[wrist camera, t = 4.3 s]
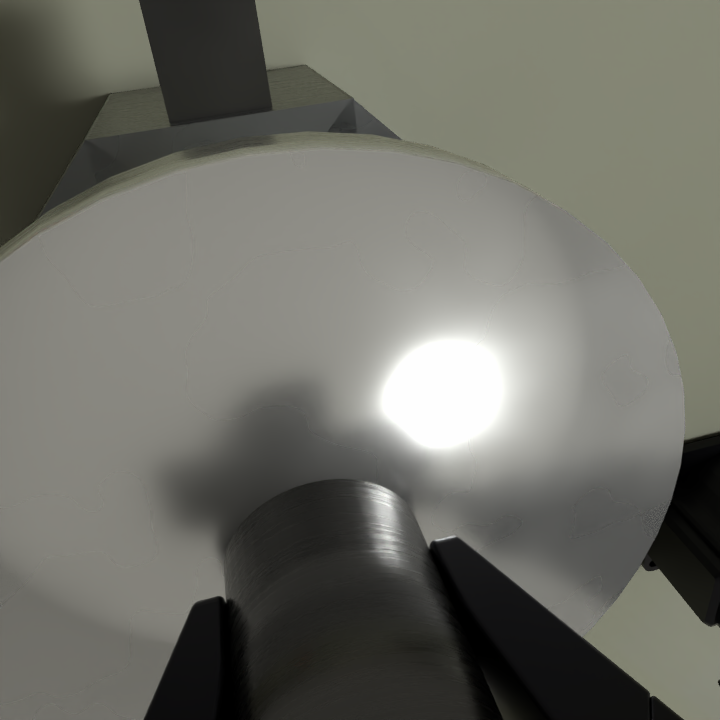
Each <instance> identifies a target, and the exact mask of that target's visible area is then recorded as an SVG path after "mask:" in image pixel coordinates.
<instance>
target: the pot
mask: <svg viewBox="0 0 720 720" xmlns="http://www.w3.org/2000/svg"><path fill="white" fill-rule="evenodd" d="M139 2H140V6H141V10H142V14H143V18H144V22H145V26H146V30H147V34H148V38H149V42H150V46H151V50H152V54H153V58H154V62H155V66H156V70H157V74H158V78H159V82H160V86H161V87H154V88H147V89H140V90H133V91H127V92H120V93H113V94H112V93H111V94H109V96H108V98H107V100H106V101H105V103H104V105H103V107H102V109H101V110H100V112H99V114H98V116H97V118H96V119H95V121H94V123H93V124H92V126H91V128H90V129H89V131H88V133H87V134H86V136H85V138H84V139H83V141H82V143H81V144H80V146H79V148H78V149H77V151H76V153H75V155H74V156H73V158H72V160H71V161H70V163H69V165H68V166H67V168H66V170H65V171H64V173H63V175H62V176H61V178H60V180H59V181H58V183H57V185H56V186H55V188H54V190H53V191H52V193H51V195H50V196H49V198H48V200H47V202H46V203H45V205H44V207H43V208H42V210H41V212H40V213H39V215H38V217H37V218H36V220H37V219H39V218H40V217H41V216H43V215H44V214H45V213H47V212H48V211H49V210H51V209H53V208H54V207H56V206H58V205H60V204H62V203H64V202H65V201H67V200H69V199H71V198H73V197H74V196H76V195H78V194H80V193H82V192H84V191H85V190H87V189H89V188H91V187H93V186H95V185H96V184H98V183H100V182H102V181H104V180H106V179H107V178H109V177H112V176H114V175H117V174H119V173H122V172H125V171H127V170H130V169H133V168H135V167H138V166H141V165H143V164H146V163H149V162H151V161H154V160H156V159H159V158H162V157H164V156H167V155H170V154H172V153H175V152H180V151H184V150H188V149H193V148H197V147H202V146H206V145H210V144H215V143H219V142H223V141H228V140H232V139H236V138H241V137H251V136H262V135H273V134H284V133H295V132H307V131H310V132H331V133H352V134H372V135H377V136H382V137H388V138H393V139H398V140H402V139H400V138H399V137H398V136H397V135H396V134H394V133H393V132H392V131H391V130H390V129H388V128H387V127H386V126H385V125H384V124H382V123H381V122H380V121H379V120H378V119H376V118H375V117H374V116H373V115H372V114H370V113H369V112H368V111H367V110H366V109H364V108H363V107H362V106H361V105H360V104H358V103H357V102H356V101H355V100H354V98H353V97H351V96H350V95H348V94H347V93H345V92H344V91H343V90H341V89H340V88H338V87H337V86H335V85H334V84H333V83H331V82H330V81H328V80H327V79H326V78H324V77H323V76H321V75H320V74H318V73H317V72H316V71H314V70H313V69H311V68H310V67H309V66H307V65H303V66H297V67H290V68H283V69H276V70H269V71H266V65H265V59H264V53H263V47H262V41H261V35H260V29H259V23H258V17H257V11H256V5H255V0H139ZM36 220H35V221H36Z"/></svg>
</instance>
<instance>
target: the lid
mask: <svg viewBox="0 0 720 720" xmlns="http://www.w3.org/2000/svg"><path fill="white" fill-rule="evenodd" d="M684 435H685V403H684V388H683V383H682V378H681V373H680V368H679V363H678V358H677V353H676V350H675V347H674V345H673V342H672V340H671V337H670V335H669V332H668V330H667V327H666V324H665V322H664V319H663V317H662V314H661V313H660V311H659V309H658V308H657V306H656V305H655V303H654V301H653V300H652V298H651V297H650V295H649V293H648V292H647V290H646V288H645V287H644V285H643V284H642V282H641V280H640V279H639V277H638V276H637V275H636V274H635V273H634V272H633V271H632V270H631V268H630V267H629V266H628V265H627V264H626V263H625V262H624V261H623V260H622V259H621V257H620V256H619V255H618V254H617V253H616V252H615V251H614V250H613V249H612V247H611V246H610V245H609V244H608V243H607V242H606V241H604V240H603V239H602V238H600V237H599V236H598V235H597V234H595V233H594V232H593V231H591V230H590V229H589V228H588V227H586V226H585V225H584V224H582V223H581V222H580V221H578V220H577V219H576V218H575V217H573V216H572V215H571V214H569V213H568V212H567V211H565V210H564V209H562V208H560V207H559V206H557V205H555V204H554V203H552V202H550V201H549V200H547V199H546V198H544V197H542V196H541V195H539V194H537V193H536V192H534V191H532V190H531V189H529V188H527V187H525V186H523V185H522V184H520V183H518V182H516V181H514V180H512V179H510V178H509V177H507V176H505V175H503V174H501V173H499V172H497V171H495V170H494V169H492V168H490V167H488V166H486V165H484V164H482V163H479V162H476V161H473V160H470V159H467V158H464V157H462V156H459V155H456V154H453V153H450V152H447V151H444V150H442V149H439V148H436V147H433V146H429V145H424V144H419V143H414V142H409V141H403V140H398V139H393V138H388V137H382V136H377V135H372V134H352V133H331V132H310V131H307V132H295V133H284V134H273V135H262V136H251V137H241V138H236V139H232V140H228V141H223V142H219V143H215V144H210V145H206V146H202V147H197V148H193V149H188V150H184V151H180V152H175V153H172V154H170V155H167V156H164V157H162V158H159V159H156V160H154V161H151V162H149V163H146V164H143V165H141V166H138V167H135V168H133V169H130V170H127V171H125V172H122V173H119V174H117V175H114V176H112V177H109V178H107V179H106V180H104V181H102V182H100V183H98V184H96V185H95V186H93V187H91V188H89V189H87V190H85V191H84V192H82V193H80V194H78V195H76V196H74V197H73V198H71V199H69V200H67V201H65V202H64V203H62V204H60V205H58V206H56V207H54V208H53V209H51V210H49V211H48V212H47V213H45V214H44V215H43V216H41V217H40V218H39V219H37V220H36V221H35V222H33V223H32V224H31V225H29V226H28V227H27V228H25V229H24V230H23V231H21V232H20V233H19V234H17V235H16V236H15V237H13V238H12V239H11V240H10V241H8V242H7V243H6V244H4V245H3V246H2V247H0V720H143V719H144V717H145V715H146V712H147V710H148V708H149V705H150V703H151V701H152V698H153V696H154V694H155V691H156V689H157V687H158V684H159V682H160V680H161V677H162V675H163V673H164V670H165V668H166V666H167V663H168V661H169V659H170V656H171V654H172V652H173V649H174V647H175V645H176V642H177V640H178V638H179V635H180V633H181V631H182V628H183V626H184V624H185V621H186V619H187V617H188V614H189V612H190V610H191V608H192V606H193V604H195V603H196V602H198V601H200V600H204V599H208V598H212V597H216V596H221V597H223V598H224V599H225V602H226V608H227V622H228V636H229V649H230V663H231V677H232V692H233V706H234V720H503V718H502V715H501V713H500V711H499V709H498V706H497V704H496V702H495V699H494V697H493V695H492V692H491V690H490V688H489V686H488V683H487V681H486V679H485V676H484V674H483V672H482V669H481V667H480V665H479V662H478V660H477V658H476V656H475V653H474V651H473V649H472V646H471V644H470V642H469V639H468V637H467V635H466V632H465V630H464V628H463V626H462V623H461V621H460V619H459V616H458V614H457V612H456V609H455V607H454V605H453V603H452V600H451V598H450V596H449V593H448V591H447V589H446V586H445V584H444V582H443V579H442V577H441V575H440V573H439V570H438V568H437V566H436V563H435V561H434V559H433V556H432V554H431V552H430V549H429V546H430V543H431V542H432V541H433V540H436V539H440V538H444V537H447V536H452V535H455V536H458V537H459V538H461V539H462V540H463V541H464V542H466V543H467V544H468V545H469V546H471V547H472V548H473V549H474V550H476V551H477V552H478V553H479V554H480V555H482V556H483V557H484V558H485V559H487V560H488V561H489V562H490V563H492V564H493V565H494V566H495V567H496V568H498V569H499V570H500V571H501V572H503V573H504V574H505V575H506V576H508V577H509V578H510V579H511V580H512V581H514V582H515V583H516V584H517V585H519V586H520V587H521V588H522V589H523V590H525V591H526V592H527V593H528V594H530V595H531V596H532V597H533V598H535V599H536V600H537V601H538V602H539V603H541V604H542V605H543V606H544V607H546V608H547V609H548V610H549V611H551V612H552V613H553V614H554V615H555V616H557V617H558V618H559V619H560V620H562V621H563V622H564V623H565V624H567V625H568V626H569V627H570V628H571V629H573V630H574V631H575V632H576V633H578V634H579V635H580V636H581V637H583V636H584V635H585V634H586V633H587V632H588V631H589V630H590V629H591V628H592V627H593V626H594V625H595V624H596V623H597V621H598V620H599V619H600V618H601V617H602V616H603V614H604V613H605V612H606V611H607V610H608V609H609V607H610V606H611V605H612V604H613V603H614V602H615V600H616V599H617V598H618V597H619V595H620V594H621V592H622V591H623V590H624V588H625V587H626V585H627V584H628V582H629V581H630V580H631V578H632V577H633V575H634V574H635V573H636V571H637V570H638V568H639V567H640V565H641V563H642V561H643V559H644V558H645V556H646V554H647V552H648V550H649V549H650V547H651V545H652V543H653V541H654V540H655V538H656V536H657V534H658V531H659V529H660V527H661V524H662V522H663V519H664V517H665V515H666V512H667V510H668V507H669V505H670V502H671V499H672V496H673V492H674V488H675V485H676V481H677V477H678V474H679V470H680V466H681V459H682V451H683V443H684Z"/></svg>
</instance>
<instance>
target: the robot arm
mask: <svg viewBox="0 0 720 720" xmlns="http://www.w3.org/2000/svg"><path fill="white" fill-rule="evenodd" d="M429 549H430V552H431V554H432V556H433V559H434V561H435V563H436V566H437V568H438V570H439V573H440V575H441V577H442V579H443V582H444V584H445V586H446V589H447V591H448V593H449V596H450V598H451V600H452V603H453V605H454V607H455V609H456V612H457V614H458V616H459V619H460V621H461V623H462V626H463V628H464V630H465V632H466V635H467V637H468V639H469V642H470V644H471V646H472V649H473V651H474V653H475V656H476V658H477V660H478V662H479V665H480V667H481V669H482V672H483V674H484V676H485V679H486V681H487V683H488V686H489V688H490V690H491V692H492V695H493V697H494V699H495V702H496V704H497V706H498V709H499V711H500V713H501V715H502V718H503V720H684V719H682V718H681V717H680V716H679V715H677V714H676V713H675V712H674V711H672V710H671V709H670V708H669V707H668V706H666V705H665V704H664V703H663V702H662V701H660V700H659V699H658V698H657V697H655V696H652V697H650V693H649V691H648V690H646V689H645V688H644V687H643V686H642V685H640V684H639V683H638V682H637V681H635V680H634V679H633V678H632V677H630V676H629V675H628V674H627V673H626V672H624V671H623V670H622V669H621V668H619V667H618V666H617V665H616V664H614V663H613V662H612V661H611V660H610V659H608V658H607V657H606V656H605V655H603V654H602V653H601V652H600V651H598V650H597V649H596V648H595V647H594V646H592V645H591V644H590V643H589V642H587V641H586V640H585V639H584V638H583V637H581V636H580V635H579V634H578V633H576V632H575V631H574V630H573V629H571V628H570V627H569V626H568V625H567V624H565V623H564V622H563V621H562V620H560V619H559V618H558V617H557V616H555V615H554V614H553V613H552V612H551V611H549V610H548V609H547V608H546V607H544V606H543V605H542V604H541V603H539V602H538V601H537V600H536V599H535V598H533V597H532V596H531V595H530V594H528V593H527V592H526V591H525V590H523V589H522V588H521V587H520V586H519V585H517V584H516V583H515V582H514V581H512V580H511V579H510V578H509V577H508V576H506V575H505V574H504V573H503V572H501V571H500V570H499V569H498V568H496V567H495V566H494V565H493V564H492V563H490V562H489V561H488V560H487V559H485V558H484V557H483V556H482V555H480V554H479V553H478V552H477V551H476V550H474V549H473V548H472V547H471V546H469V545H468V544H467V543H466V542H464V541H463V540H462V539H461V538H459V537H458V536H455V535H452V536H447V537H444V538H440V539H436V540H433V541H432V542H431V543H430V546H429ZM641 565H642V566H643V567H644V569H645V570H646V571H654V570H657V569H660V570H661V572H662V573H663V574H664V575H665V577H666V578H667V579H668V580H669V582H670V583H671V584H672V585H673V586H674V588H675V589H676V590H677V591H678V593H679V594H680V595H681V596H682V598H683V599H684V600H685V601H686V603H687V604H688V605H689V606H690V607H691V609H692V610H693V611H694V612H695V614H696V615H697V616H698V617H699V619H700V620H701V621H702V622H703V623H705V624H706V625H708V626H710V627H712V626H715V625H718V626H719V627H720V436H717V437H713V438H709V439H705V440H701V441H697V442H693V443H689V444H685V445H683V451H682V459H681V466H680V470H679V474H678V477H677V481H676V485H675V488H674V492H673V496H672V499H671V502H670V505H669V507H668V510H667V512H666V515H665V517H664V519H663V522H662V524H661V527H660V529H659V531H658V534H657V536H656V538H655V540H654V541H653V543H652V545H651V547H650V549H649V550H648V552H647V554H646V556H645V558H644V559H643V561H642V563H641ZM718 683H719V686H720V680H719V681H718ZM143 720H234V706H233V692H232V677H231V663H230V649H229V636H228V622H227V608H226V602H225V599H224V598H223V597H221V596H216V597H212V598H208V599H204V600H200V601H198V602H196V603H195V604H193V606H192V608H191V610H190V612H189V614H188V617H187V619H186V621H185V624H184V626H183V628H182V631H181V633H180V635H179V638H178V640H177V642H176V645H175V647H174V649H173V652H172V654H171V656H170V659H169V661H168V663H167V666H166V668H165V670H164V673H163V675H162V677H161V680H160V682H159V684H158V687H157V689H156V691H155V694H154V696H153V698H152V701H151V703H150V705H149V708H148V710H147V712H146V715H145V717H144V719H143Z"/></svg>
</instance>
